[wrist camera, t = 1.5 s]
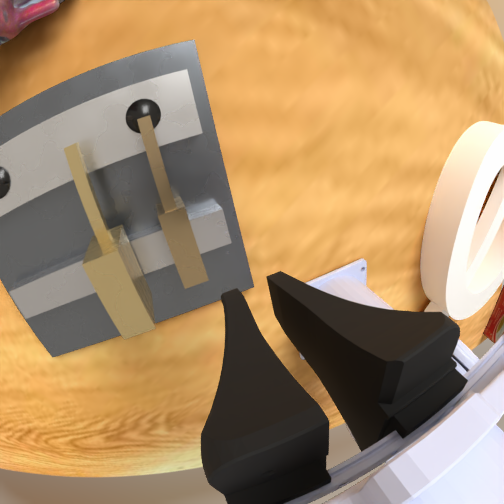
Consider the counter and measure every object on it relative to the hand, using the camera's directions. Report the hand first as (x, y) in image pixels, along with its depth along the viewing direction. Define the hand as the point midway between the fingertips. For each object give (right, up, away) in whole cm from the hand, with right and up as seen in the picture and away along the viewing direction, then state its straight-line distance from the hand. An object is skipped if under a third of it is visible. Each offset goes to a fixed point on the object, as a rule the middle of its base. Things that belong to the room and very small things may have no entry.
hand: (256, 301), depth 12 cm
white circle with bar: (+32, +7, +22) cm, 39 cm away
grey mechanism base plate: (-10, +4, +5) cm, 12 cm away
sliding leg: (-9, +3, +4) cm, 10 cm away
